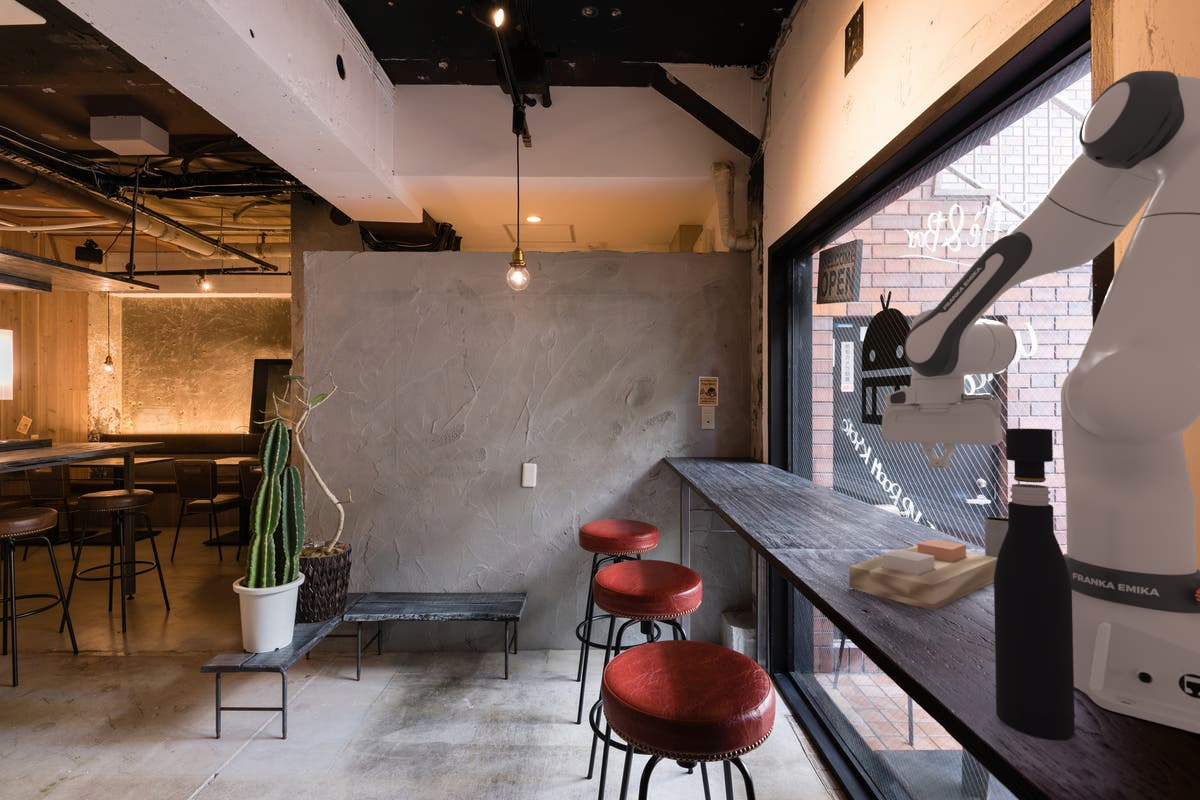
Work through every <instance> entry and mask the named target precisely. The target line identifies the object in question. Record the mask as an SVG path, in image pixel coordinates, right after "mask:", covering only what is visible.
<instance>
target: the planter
mask: <svg viewBox="0 0 1200 800" xmlns="http://www.w3.org/2000/svg"><path fill="white" fill-rule="evenodd" d="M1007 531H1008V517H1002V516H985V517H984V555H985V556H991V557H996V558H998V554H999V551H1000V548H1001V546H1002V543H1003V541H1004V538H1005V536H1006V533H1007Z"/></svg>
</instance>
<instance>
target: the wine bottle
mask: <svg viewBox="0 0 1200 800" xmlns="http://www.w3.org/2000/svg"><path fill="white" fill-rule="evenodd" d="M1053 447H1054V444H1053V429H1051V428H1023V427H1022V428H1019V427H1018V428H1017V427H1016V428H1006V429H1005V454H1006V457H1005V460H1008V461H1014V466H1013V467H1014V476H1013V479H1014V481H1016V482H1023V483H1015V484H1014V483H1013V484H1011V488H1010V489H1009V491H1010V492H1011V495H1010V496H1009V498H1010V499H1011V501H1008V503H1007V518H1008V531H1007V533H1006V536H1005V538H1004V541H1003V543H1002V546H1001V548H1000V551H999V554H998V558H997V562H996V567H995V573H994V582H993V593H994V594H993V600H994V601H993V602H994V605H993V606H994V607H993V609H994V610H993V611H994V650H995V651H994V653H995V655H994V656H995V665H994V666H995V700H996V701H995V706H996V715H997V716H998V719H1000V720H1001V721H1002V723H1004V724H1005V725H1007V726H1008V727H1011V729H1014V730H1017V731H1018V732H1021V733H1023V734H1026V735H1030V736H1033V737H1036V738H1041V739H1046V740H1056V741H1057V740H1059V741H1061V740H1067V739H1071V738H1072V737H1073V736H1075V732H1076V731H1075V728H1076V727H1075V726H1076V725H1075V722H1076V721H1075V720H1076V719H1075V716H1076V715H1075V687H1074V668H1073V620H1072V585H1071V580H1070V576H1069V572H1068V568H1067V564H1066V561H1065V558H1064V556H1063V555H1064V554H1063V551H1062V549H1061V546H1060V544H1059V541H1058V538H1057V537H1056V534H1055V530H1054V529H1055V528H1054V527H1055V526H1054V525H1055V524H1054V523H1055V522H1054V520H1055V519H1054V506H1053V505H1052V504H1050V503H1049V502H1051V498H1050V497H1049V495H1050V494H1051V491H1050V490H1049V486H1047V485H1041V484H1031V483H1045V481H1047V478H1046V473H1045V472H1046V470H1045V469H1046V466H1045V463H1052V462H1054V448H1053ZM1028 483H1030V484H1028Z"/></svg>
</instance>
